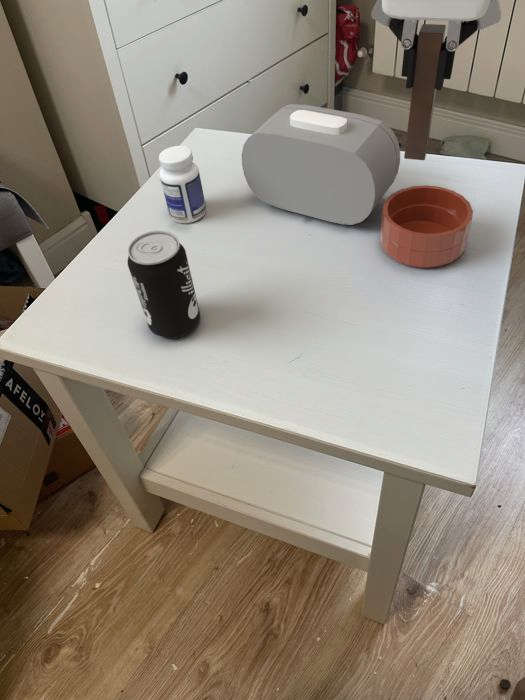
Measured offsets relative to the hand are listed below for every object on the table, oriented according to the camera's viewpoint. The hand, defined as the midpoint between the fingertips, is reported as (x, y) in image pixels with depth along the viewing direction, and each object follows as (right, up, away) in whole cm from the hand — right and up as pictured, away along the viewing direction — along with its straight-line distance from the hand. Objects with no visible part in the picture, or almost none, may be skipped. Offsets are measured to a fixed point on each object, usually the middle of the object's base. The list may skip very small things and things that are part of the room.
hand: (425, 82), depth 62 cm
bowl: (+4, -15, +15) cm, 22 cm away
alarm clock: (-9, -7, +24) cm, 26 cm away
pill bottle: (-29, -8, +25) cm, 39 cm away
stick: (+1, -6, +6) cm, 9 cm away
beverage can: (-29, -26, +9) cm, 40 cm away
